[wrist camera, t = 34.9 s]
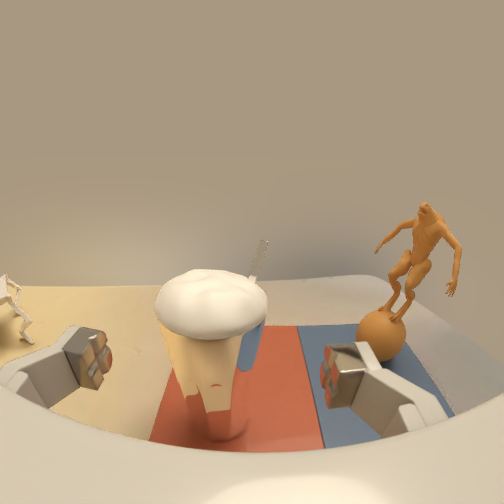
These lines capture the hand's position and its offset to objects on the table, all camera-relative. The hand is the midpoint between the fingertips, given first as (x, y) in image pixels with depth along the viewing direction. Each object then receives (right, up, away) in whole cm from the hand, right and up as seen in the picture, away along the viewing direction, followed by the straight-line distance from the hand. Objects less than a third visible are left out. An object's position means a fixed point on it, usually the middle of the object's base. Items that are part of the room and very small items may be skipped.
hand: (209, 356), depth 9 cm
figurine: (+12, -5, +10) cm, 16 cm away
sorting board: (+5, -6, +8) cm, 11 cm away
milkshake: (0, -6, +5) cm, 8 cm away
